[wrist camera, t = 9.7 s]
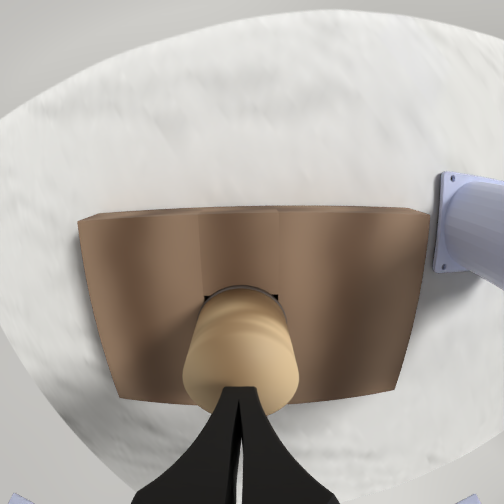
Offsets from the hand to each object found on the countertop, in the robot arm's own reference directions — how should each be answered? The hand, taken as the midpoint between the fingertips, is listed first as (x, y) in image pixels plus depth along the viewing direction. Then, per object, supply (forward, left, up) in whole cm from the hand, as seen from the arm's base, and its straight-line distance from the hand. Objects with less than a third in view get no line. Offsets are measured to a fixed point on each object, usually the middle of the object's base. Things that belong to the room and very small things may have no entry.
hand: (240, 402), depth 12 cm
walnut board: (-1, 0, -10) cm, 10 cm away
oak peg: (0, 0, -9) cm, 9 cm away
